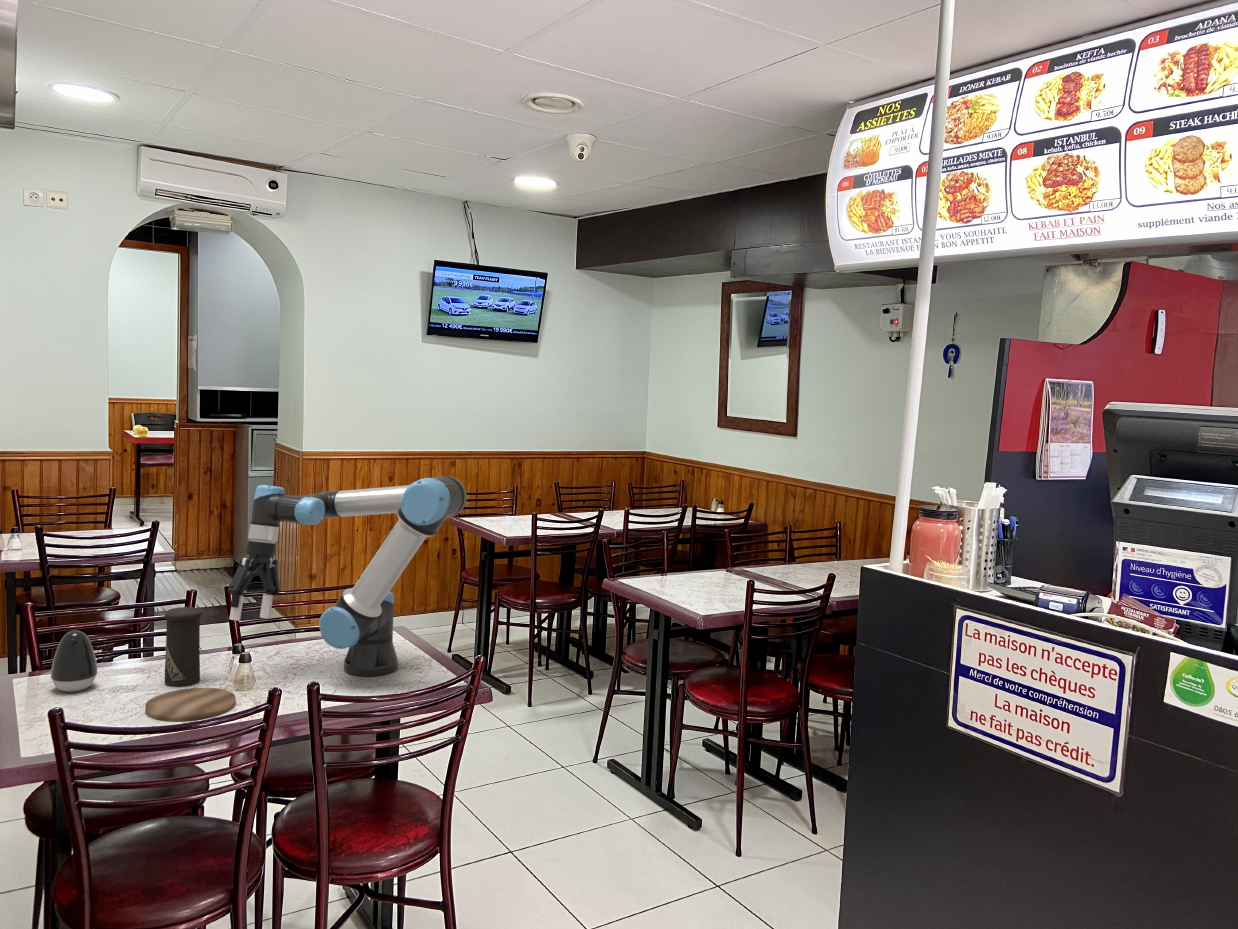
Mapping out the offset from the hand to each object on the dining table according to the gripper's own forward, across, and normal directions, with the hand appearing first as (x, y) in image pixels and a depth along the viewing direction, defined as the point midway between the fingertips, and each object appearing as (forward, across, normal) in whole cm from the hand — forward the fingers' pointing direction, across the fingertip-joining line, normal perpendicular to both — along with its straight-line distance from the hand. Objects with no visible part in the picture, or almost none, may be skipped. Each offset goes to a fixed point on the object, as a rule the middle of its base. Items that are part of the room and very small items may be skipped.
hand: (250, 619), depth 241 cm
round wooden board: (+21, +21, +1) cm, 29 cm away
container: (+18, +6, -13) cm, 23 cm away
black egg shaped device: (+21, +19, -34) cm, 45 cm away
